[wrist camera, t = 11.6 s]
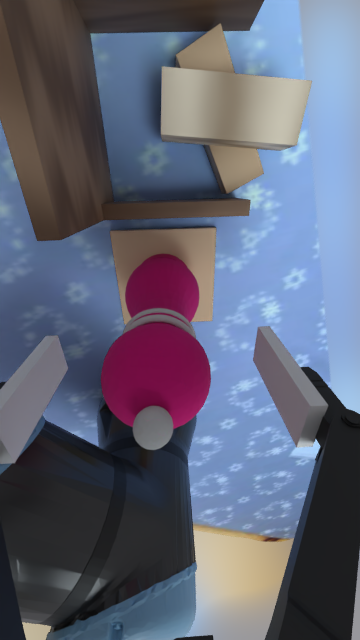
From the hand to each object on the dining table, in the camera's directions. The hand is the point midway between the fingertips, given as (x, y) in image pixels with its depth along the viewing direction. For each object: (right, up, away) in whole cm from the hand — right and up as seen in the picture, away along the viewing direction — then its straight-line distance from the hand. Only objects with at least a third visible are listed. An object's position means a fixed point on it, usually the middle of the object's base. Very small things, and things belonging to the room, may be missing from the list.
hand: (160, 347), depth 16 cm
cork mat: (0, +7, +12) cm, 14 cm away
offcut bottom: (+5, +19, +6) cm, 21 cm away
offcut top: (+5, +18, +3) cm, 19 cm away
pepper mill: (-1, +6, +11) cm, 13 cm away
